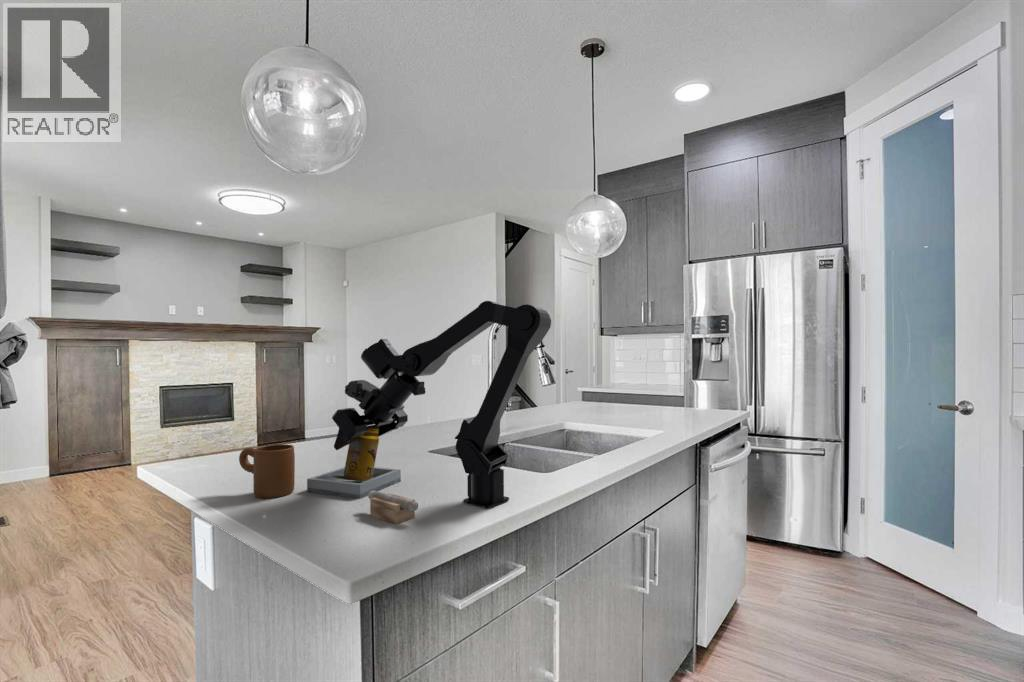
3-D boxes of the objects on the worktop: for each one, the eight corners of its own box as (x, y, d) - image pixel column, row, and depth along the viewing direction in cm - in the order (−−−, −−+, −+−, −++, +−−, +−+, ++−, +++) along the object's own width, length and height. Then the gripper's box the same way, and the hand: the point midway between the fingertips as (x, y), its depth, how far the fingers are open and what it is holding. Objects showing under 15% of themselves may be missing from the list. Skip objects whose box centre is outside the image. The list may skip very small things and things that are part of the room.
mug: (225, 496, 98) (225, 449, 98) (253, 486, 106) (253, 442, 106) (277, 500, 96) (277, 452, 96) (302, 489, 103) (302, 444, 103)
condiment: (380, 482, 105) (389, 426, 107) (345, 481, 99) (356, 422, 101) (360, 477, 110) (370, 423, 112) (326, 476, 103) (337, 419, 106)
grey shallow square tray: (400, 481, 109) (400, 469, 109) (360, 498, 96) (360, 485, 96) (351, 475, 114) (351, 464, 114) (307, 491, 101) (307, 478, 101)
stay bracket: (425, 520, 83) (425, 499, 83) (407, 527, 80) (407, 505, 80) (378, 506, 91) (378, 487, 91) (360, 512, 88) (360, 492, 88)
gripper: (396, 366, 113) (358, 412, 117) (339, 368, 96) (296, 422, 99) (426, 401, 110) (385, 447, 114) (372, 410, 92) (327, 464, 96)
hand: (350, 444), depth 106 cm, fingers open, 9 cm apart
